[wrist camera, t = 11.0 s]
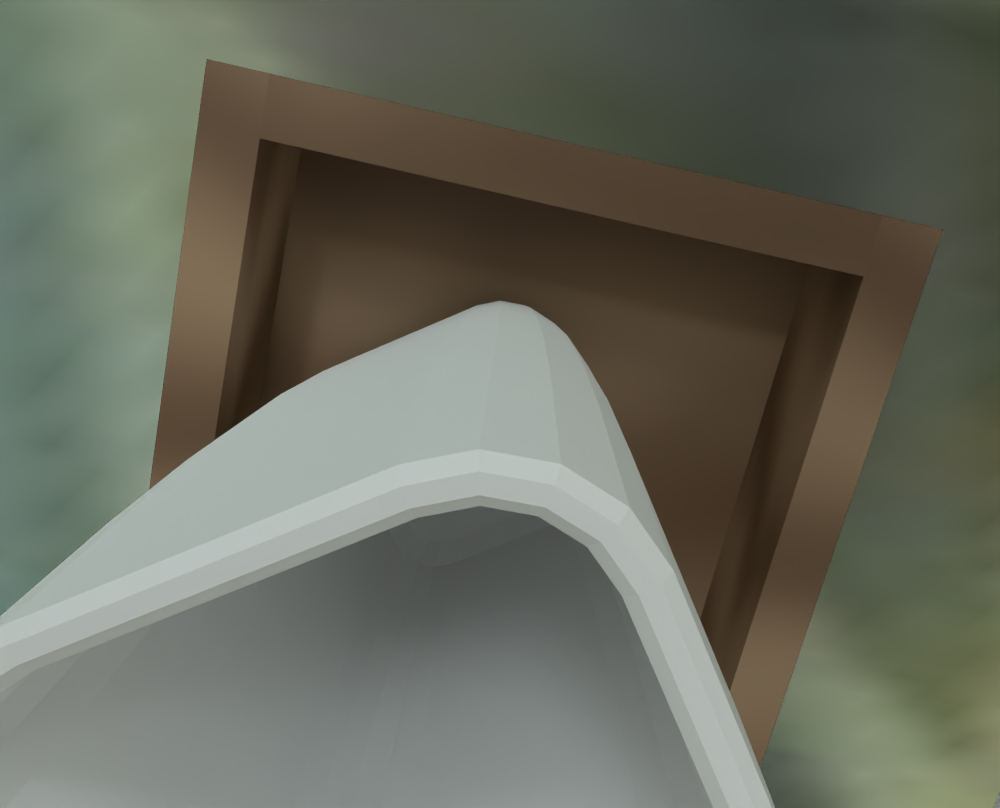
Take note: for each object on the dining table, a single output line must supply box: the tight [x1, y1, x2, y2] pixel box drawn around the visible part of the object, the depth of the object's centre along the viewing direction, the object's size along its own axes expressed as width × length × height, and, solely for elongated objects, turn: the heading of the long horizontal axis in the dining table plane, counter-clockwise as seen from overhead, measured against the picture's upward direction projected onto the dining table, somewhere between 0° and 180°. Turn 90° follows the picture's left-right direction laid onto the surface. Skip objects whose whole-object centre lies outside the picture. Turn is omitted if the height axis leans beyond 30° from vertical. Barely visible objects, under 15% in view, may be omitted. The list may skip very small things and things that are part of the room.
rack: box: [149, 59, 943, 767], centre depth 23 cm, size 28×14×4 cm, turn 167°
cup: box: [0, 301, 775, 808], centre depth 16 cm, size 7×7×15 cm
